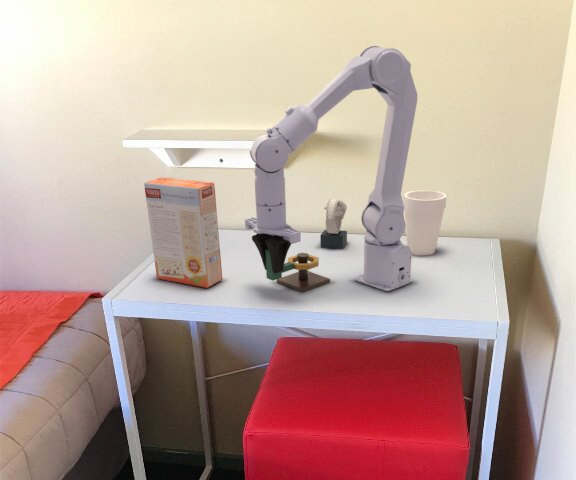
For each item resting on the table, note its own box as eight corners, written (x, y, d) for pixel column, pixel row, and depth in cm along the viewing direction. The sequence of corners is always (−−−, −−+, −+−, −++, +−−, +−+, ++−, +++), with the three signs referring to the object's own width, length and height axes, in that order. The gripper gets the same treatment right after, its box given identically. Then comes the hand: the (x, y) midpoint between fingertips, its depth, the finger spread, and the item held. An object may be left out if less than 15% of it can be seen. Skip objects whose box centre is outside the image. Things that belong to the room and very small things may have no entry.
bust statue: (348, 241, 164) (349, 196, 158) (341, 251, 157) (341, 204, 152) (326, 239, 165) (326, 195, 160) (318, 249, 159) (318, 203, 153)
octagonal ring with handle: (304, 260, 143) (303, 233, 140) (324, 267, 138) (324, 239, 135) (259, 275, 136) (258, 247, 133) (280, 283, 131) (278, 254, 128)
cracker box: (224, 280, 143) (215, 181, 132) (207, 289, 138) (197, 188, 128) (173, 270, 149) (161, 175, 139) (155, 279, 145) (142, 181, 134)
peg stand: (330, 282, 140) (330, 254, 137) (302, 292, 135) (301, 264, 132) (304, 273, 145) (303, 246, 142) (276, 282, 141) (275, 254, 138)
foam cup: (442, 258, 151) (447, 200, 144) (400, 257, 152) (404, 200, 146) (440, 245, 159) (445, 190, 152) (401, 244, 160) (404, 189, 154)
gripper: (231, 200, 129) (236, 266, 136) (279, 213, 120) (282, 284, 126) (259, 193, 133) (262, 258, 140) (308, 206, 124) (309, 275, 130)
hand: (273, 270), depth 133 cm, fingers closed on octagonal ring with handle
